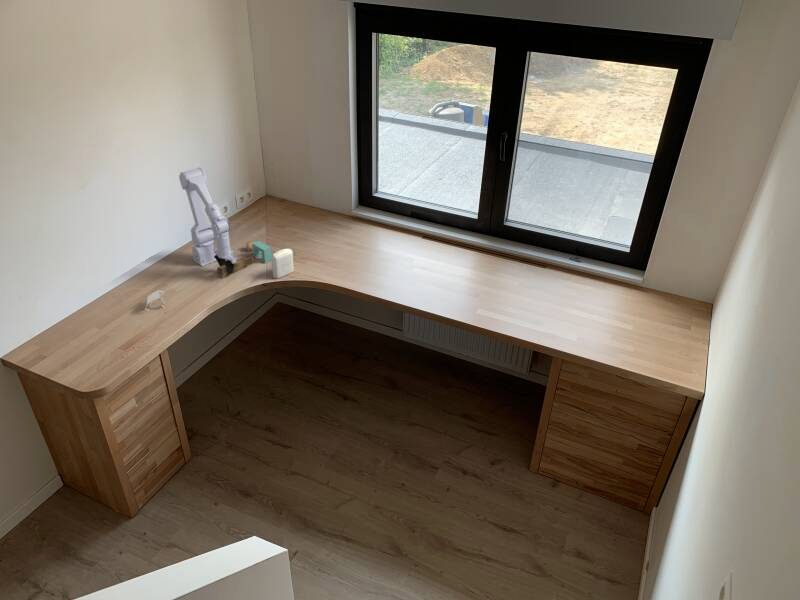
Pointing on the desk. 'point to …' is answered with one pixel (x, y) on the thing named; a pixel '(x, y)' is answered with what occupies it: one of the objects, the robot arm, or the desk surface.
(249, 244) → the bead
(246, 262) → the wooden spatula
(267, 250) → the teal angular block
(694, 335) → the desk surface
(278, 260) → the photo printer
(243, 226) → the desk surface
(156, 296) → the origami figure
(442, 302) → the desk surface
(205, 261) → the robot arm
